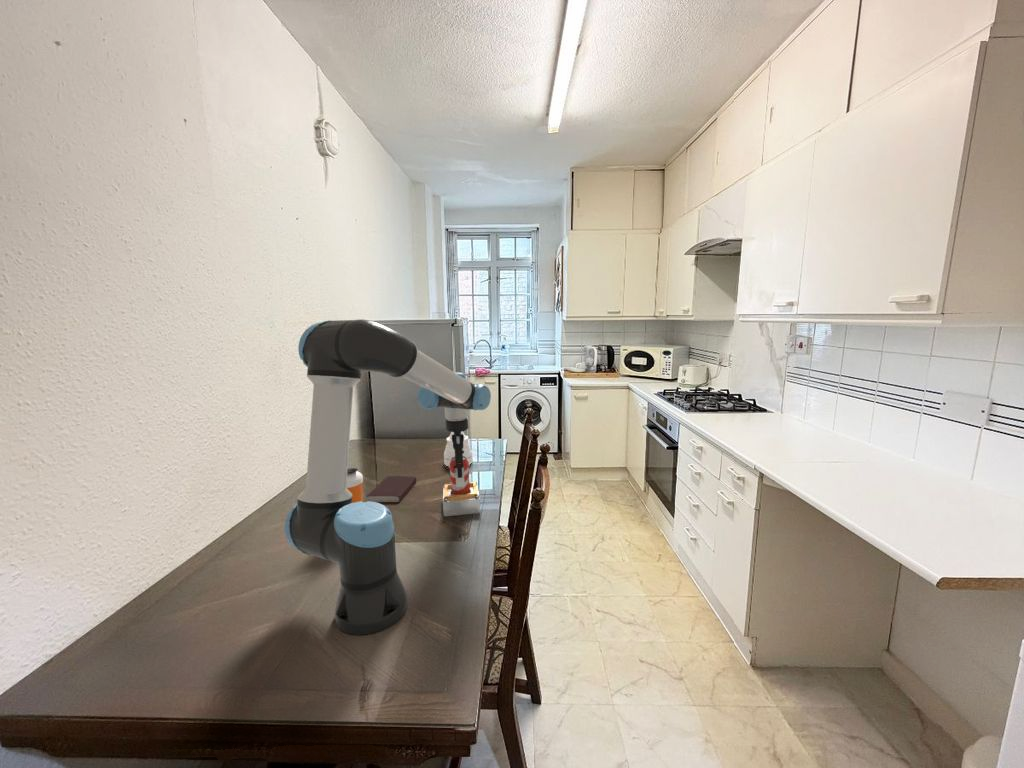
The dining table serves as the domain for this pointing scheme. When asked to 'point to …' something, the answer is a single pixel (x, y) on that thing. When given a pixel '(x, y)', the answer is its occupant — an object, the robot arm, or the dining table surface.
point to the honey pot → (451, 452)
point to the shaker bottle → (355, 484)
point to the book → (391, 489)
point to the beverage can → (453, 477)
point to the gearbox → (461, 501)
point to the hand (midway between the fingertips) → (460, 479)
